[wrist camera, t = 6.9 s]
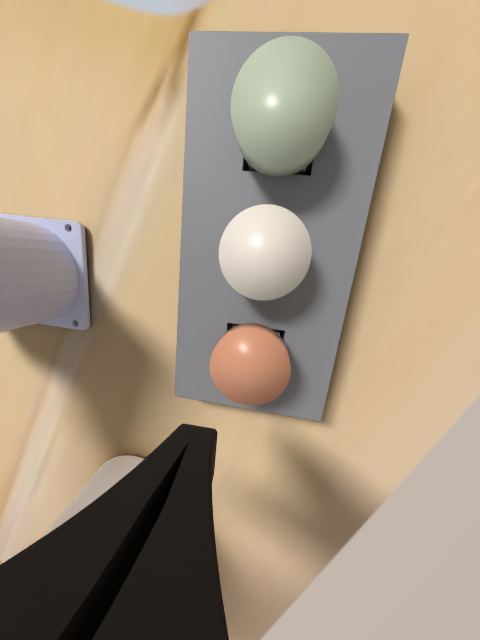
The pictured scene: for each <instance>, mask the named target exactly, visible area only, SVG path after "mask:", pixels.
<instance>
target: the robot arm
mask: <svg viewBox="0 0 480 640" xmlns="http://www.w3.org/2000/svg"><path fill="white" fill-rule="evenodd" d="M70 226H71V228H72V229H71V231H70V229H69V227H70ZM76 321H77V322H78V324H77V323H76ZM33 324H43V325H50V326H56V327H63V328H69V329H76V330H86V329H88V328H89V327H90V309H89V291H88V274H87V256H86V239H85V228H84V226H83V224H81V223H80V222H76V221H68V220H58V219H48V218H38V217H28V216H19V215H9V214H0V333H2V332H6V331H10V330H14V329H18V328H22V327H25V326H29V325H33ZM216 444H217V431H216V430H215V429H212V428H206V427H200V426H194V425H189V424H181V425H180V426H179V427H178V428H177V429H176V430H175V431H174V432H173V433H172V434H171V435H170V436H169V437H168V438H167V439H166V440H164V441H163V442H162V443H161V444H160V445H159V446H158V447H157V448H156V449H155V450H154V451H153V452H152V453H151V454H149V455H148V456H147V457H146V458H145V459H144V460H143V461H142V462H140V463H139V464H138V465H137V466H136V467H135V468H134V469H133V470H131V471H130V472H129V473H128V474H127V475H125V476H124V477H123V478H122V479H120V480H119V481H118V482H117V483H116V484H114V485H113V486H112V487H111V488H110V489H108V490H107V491H106V492H105V493H103V494H102V495H101V496H99V497H98V498H97V499H96V500H94V501H93V502H92V503H90V504H89V505H88V506H86V507H85V508H84V509H82V510H81V511H79V512H78V513H77V514H75V515H74V516H73V517H71V518H70V519H68V520H67V521H66V522H64V523H63V524H61V525H60V526H58V527H57V528H55V529H54V530H53V531H51V532H50V533H48V534H47V535H45V536H44V537H42V538H41V539H39V540H38V541H36V542H35V543H33V544H32V545H30V546H29V547H27V548H26V549H24V550H23V551H21V552H20V553H18V554H17V555H15V556H13V557H12V558H10V559H9V560H7V561H6V562H4V563H2V564H1V565H0V640H229V638H228V631H227V625H226V619H225V612H224V606H223V600H222V593H221V586H220V578H219V570H218V563H217V554H216V544H215V534H214V522H213V506H212V480H213V475H214V467H215V455H216Z"/></svg>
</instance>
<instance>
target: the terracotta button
mask: <svg viewBox="0 0 480 640" xmlns="http://www.w3.org/2000/svg"><path fill="white" fill-rule="evenodd" d="M210 374H211V378H212V380H213V382H214V384H215V386H216V387H217V389H218V390H219V391H220V392H221V393H222V394H223V395H224V396H225V397H227V398H228V399H230V400H232V401H234V402H236V403H239V404H243V405H249V406H255V405H262V404H265V403H268V402H270V401H272V400H274V399H276V398H277V397H278V396H279V395H280V394H281V393H282V392H283V391H284V390H285V388H286V386H287V385H288V382H289V379H290V374H291V365H290V360H289V355H288V350H287V347H286V345H285V343H284V341H283V339H282V338H281V337H280V332H279V330H277V329H271V328H269V327H267V326H264V325H261V324H256V323H245V324H234V325H233V326H232V328H231V329H230V330H228V331H227V332H226V333H225V334H224V335H223V336H222V338H221V339H220V341H219V342H218V344H217V345H216V347H215V348H214V350H213V352H212V355H211V358H210Z"/></svg>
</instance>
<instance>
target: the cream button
mask: <svg viewBox="0 0 480 640" xmlns="http://www.w3.org/2000/svg"><path fill="white" fill-rule="evenodd" d="M311 256H312V246H311V240H310V236H309V233H308V231H307V229H306V227H305V225H304V224H303V222H302V221H301V220H300V219H299V218H298V217H297V216H296V215H295V214H294V213H292V212H291V211H289V210H288V209H285V208H283V207H280V206H277V205H271V204H262V205H256V206H253V207H250V208H247V209H245V210H244V211H242V212H240V213H239V214H238V215H236V216H235V217H234V218H233V219H232V220H231V221H230V223H229V224H228V225H227V227H226V229H225V230H224V232H223V235H222V237H221V241H220V245H219V263H220V267H221V270H222V273H223V275H224V277H225V279H226V280H227V282H228V283H229V284H230V286H231V287H232V288H233V289H235V290H236V291H237V292H238V293H240V294H241V295H243V296H245V297H248V298H251V299H254V300H262V301H266V300H273V299H277V298H280V297H283V296H285V295H287V294H288V293H290V292H291V291H293V290H294V289H295V288H296V287H297V286H298V285H299V284H300V283H301V281H302V280H303V279H304V277H305V275H306V273H307V271H308V269H309V266H310V262H311Z"/></svg>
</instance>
